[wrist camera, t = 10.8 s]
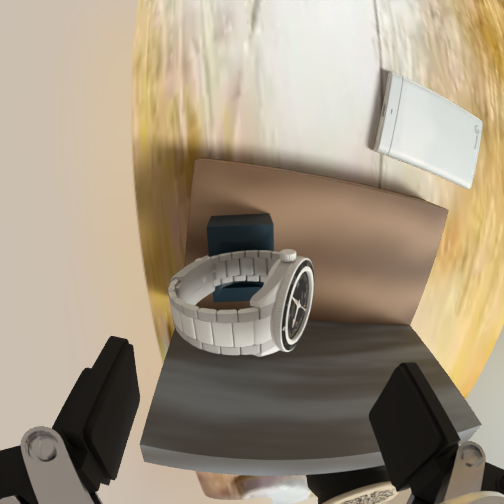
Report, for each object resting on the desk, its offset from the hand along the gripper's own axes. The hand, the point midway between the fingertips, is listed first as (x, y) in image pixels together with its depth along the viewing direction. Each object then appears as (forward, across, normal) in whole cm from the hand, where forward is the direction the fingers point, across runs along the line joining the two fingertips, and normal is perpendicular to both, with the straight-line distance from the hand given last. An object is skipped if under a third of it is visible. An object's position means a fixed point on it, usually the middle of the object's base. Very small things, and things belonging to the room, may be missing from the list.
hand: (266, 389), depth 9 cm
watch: (+15, +1, +1) cm, 15 cm away
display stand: (+18, -6, +2) cm, 19 cm away
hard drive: (+20, -16, -12) cm, 28 cm away
